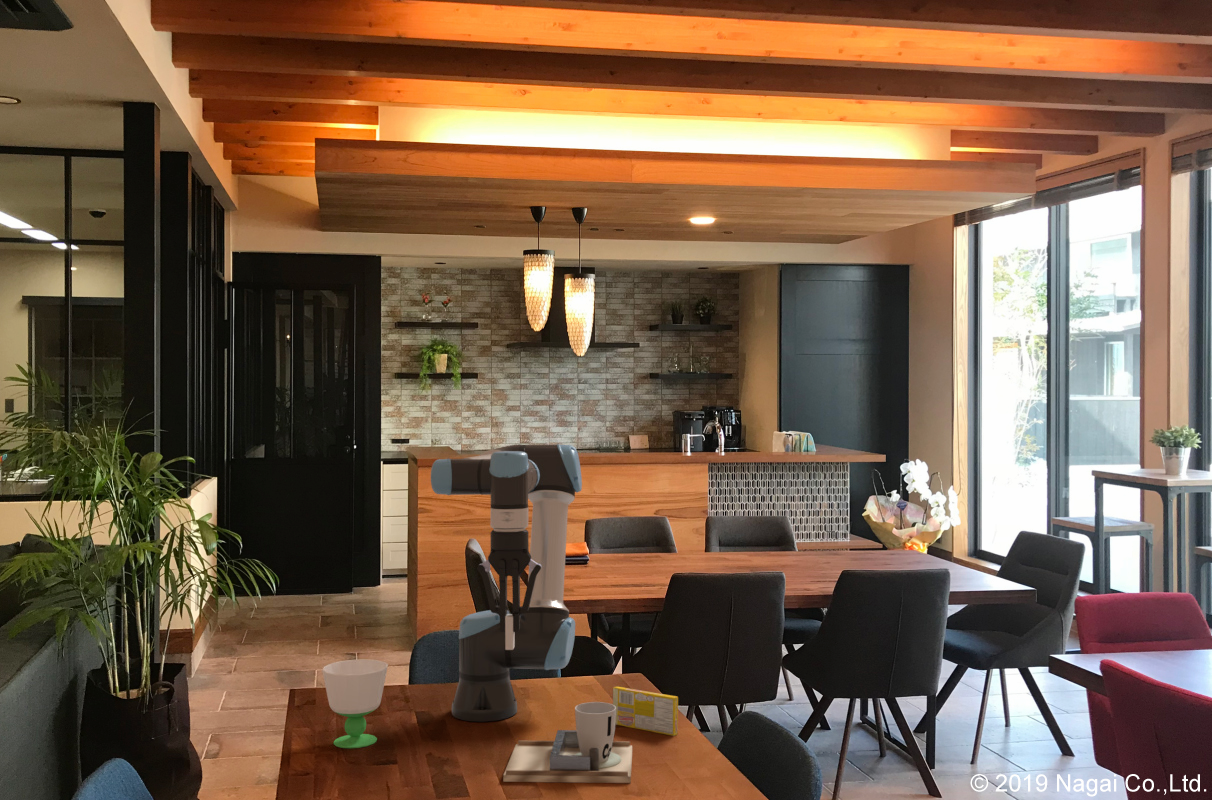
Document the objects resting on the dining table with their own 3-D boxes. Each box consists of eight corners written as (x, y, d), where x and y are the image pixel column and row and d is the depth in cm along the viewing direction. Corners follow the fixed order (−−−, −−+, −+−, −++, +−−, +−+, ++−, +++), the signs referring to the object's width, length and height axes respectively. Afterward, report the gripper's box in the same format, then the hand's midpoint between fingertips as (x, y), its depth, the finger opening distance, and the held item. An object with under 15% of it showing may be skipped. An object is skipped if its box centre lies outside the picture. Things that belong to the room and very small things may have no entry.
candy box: (679, 734, 218) (678, 696, 218) (674, 737, 216) (673, 698, 216) (617, 722, 227) (617, 685, 227) (611, 724, 225) (611, 687, 226)
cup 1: (333, 731, 221) (333, 659, 221) (395, 731, 220) (395, 659, 221) (313, 752, 207) (313, 674, 207) (379, 752, 207) (379, 675, 207)
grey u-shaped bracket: (549, 773, 190) (549, 756, 190) (557, 745, 206) (557, 730, 207) (589, 774, 190) (589, 757, 190) (594, 746, 206) (594, 730, 206)
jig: (503, 781, 190) (503, 753, 190) (516, 750, 208) (516, 724, 208) (630, 783, 189) (630, 755, 189) (632, 751, 207) (632, 725, 207)
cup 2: (611, 767, 193) (611, 714, 193) (570, 764, 195) (570, 712, 195) (619, 753, 201) (619, 703, 201) (580, 750, 203) (580, 700, 203)
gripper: (473, 531, 196) (474, 652, 196) (540, 531, 196) (541, 652, 196) (479, 527, 204) (480, 643, 203) (543, 526, 203) (544, 643, 203)
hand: (510, 648), depth 199 cm, fingers closed
